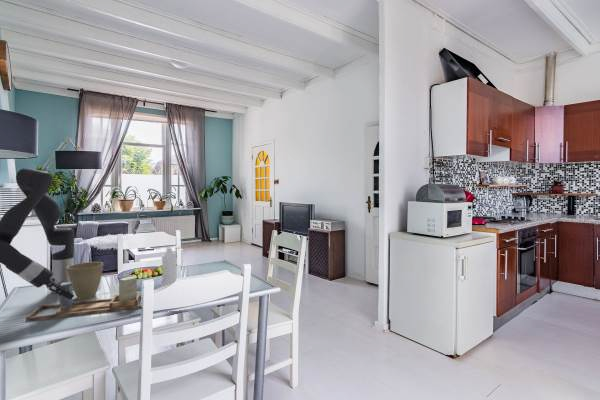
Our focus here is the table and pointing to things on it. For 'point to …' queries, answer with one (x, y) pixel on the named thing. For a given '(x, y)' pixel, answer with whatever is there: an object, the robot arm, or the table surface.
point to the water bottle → (169, 266)
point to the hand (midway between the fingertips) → (71, 296)
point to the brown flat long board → (35, 312)
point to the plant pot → (85, 278)
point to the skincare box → (127, 289)
